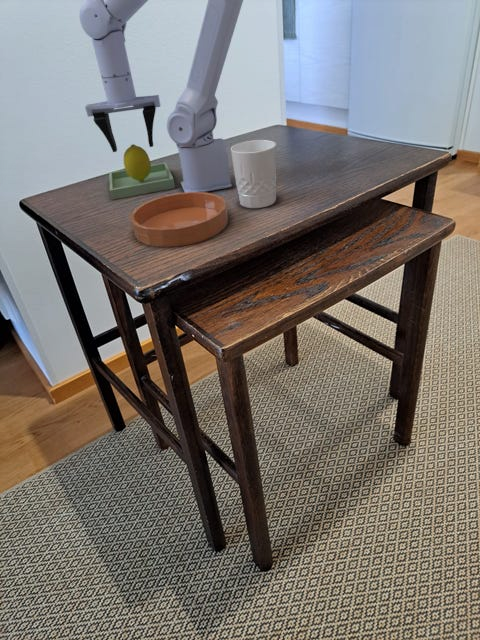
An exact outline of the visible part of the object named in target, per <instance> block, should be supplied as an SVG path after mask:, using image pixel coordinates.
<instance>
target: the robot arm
mask: <svg viewBox="0 0 480 640" xmlns="http://www.w3.org/2000/svg"><path fill="white" fill-rule="evenodd" d="M148 1H149V0H83V3H82V5H81V6H80V9H79V22H80V25H81V27H82V30H83V31H84V32H85V34H86V35H87V36H88V37H89V38H91V43H92V47H93V50H94V55H95V58H96V61H97V66H98V70H99V74H100V78H101V81H102V86H103V89H104V90H103V91H104V93H105V99H106V101H100V102H95V103H88V104H86V105H84V108H85V112H86V115H87V118H88V117H93V122H94V124H95V125H96V127H98V129H99V130H100V131H101V133H102V134H103V135H104V138H106V141H107V143H108V144H109V147H110V148H111V150H112V153H116V152H117V151H118V146H117V142H116V140H115V136H114V133H113V129H112V124H111V120H110V114H113V113H120V112H128V111H129V112H130V111H136V110H142V116H143V120H144V124H145V128H146V133H147V140H148V145H149V148H152V147H154V139H153V137H154V136H153V135H154V134H153V131H154V120H155V115H156V110H157V108H161V100H160V95H159V94H155V95H144V96H143V95H142V96H137V94H136V90H135V85H134V81H133V75H132V71H131V67H130V63H129V56H128V53H127V47H126V44H125V43H126V42H127V41H126V38H125V36H126V35H125V32H126V28H127V22H128V21H130V20H131V19H132V17H134V15H136V13H137V12H138V11H140V9H141V8H142V7H144V6H145V4H146V3H148ZM243 3H244V0H207V4H206V8H205V12H204V16H203V20H202V24H201V28H200V31H199V35H198V38H197V43H196V47H195V51H194V55H193V59H192V63H191V67H190V70H189V74H188V79H187V82H186V87H185V89H184V90H183V91H182V93H181V94H180V96H179V97H178V99H177V100H176V104H175V108H174V110H173V111H172V112H171V113H170V114H169V115H168V117H167V121H166V130H167V133H168V136H169V137H170V139H171V140H172V142H173V143H175V145H176V148H177V151H178V157H179V162H180V168H181V173H182V174H181V175H182V180H183V181H180V185H181V187H182V190H183V193H184V192H206V193H209V192H212V191H218V190H223V189H229V188H232V187H233V185H232V182H231V181H232V180H231V174H230V165H229V157H228V156H229V155H228V151H227V146H226V143H225V140H224V138H221V137H220V138H214V132H213V131H214V130H215V129H216V126H217V120H218V118H217V107H218V104H219V101H218V98H217V96H216V92H217V89H218V86H219V82H220V79H221V75H222V73H223V69H224V65H225V62H226V59H227V57H228V56H227V55H228V52H229V49H230V47H231V43H232V38H233V36H234V32H235V29H236V26H237V22H238V19H239V16H240V13H241V10H242V6H243Z"/></svg>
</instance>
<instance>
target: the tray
mask: <svg viewBox="0 0 480 640" xmlns="http://www.w3.org/2000/svg"><path fill="white" fill-rule="evenodd" d="M108 177H109V178H108V179H109V192H110V196H111V200H119V199H122V198H123V199H124V198H129V197H135V196H140V195H146V194H150V193H151V194H152V193H156V192H161V191H168V190H172V189H173V190H174V189H176V184H175V180H174V177H173V174H172V172H171V170H170V167H169V165H168V163H167V162H160V163H154V164H151V170H150V173H149V175H148V176H147V177H146V178H145V179H144V181H143V182H139V181H138V180H135V179H133V178H131V177H130V176H129V175H128V173H127V172H126V169H121V170H116V171H110V172H109V173H108Z"/></svg>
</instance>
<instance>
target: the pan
mask: <svg viewBox="0 0 480 640" xmlns="http://www.w3.org/2000/svg"><path fill="white" fill-rule="evenodd" d="M227 205H228V204H227V202H226V200H225V199H224V197H222V196H220V195H218V194H215V193H211V192H184V191H183V192H177V193H171V194H166V195H163V196H159V197H156V198H153V199H150V200H149V201H146V202H144V203H142V204H140V205H139V206H138V207H136V208H135V209H133V212H131V214H130V222H131V226H132V230H133V234H134V236H135V238H136V240H137V241H139V242H140V243H142V244H144V245H147V246H152V247H157V248H158V247H160V248H161V247H162V248H172V247H183V246H188V245H189V246H190V245H192V244H196V243H200V242H203V241H205V240H208V239H210V238H213V237H215V236H216V235H218V234H219V233H221V232H222V231H223V230H224V229H225V228H226V227H227V226H228V222H229V214H228V206H227Z"/></svg>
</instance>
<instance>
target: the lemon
mask: <svg viewBox="0 0 480 640" xmlns="http://www.w3.org/2000/svg"><path fill="white" fill-rule="evenodd" d="M151 165H152V164H151V160H150V157H149V155H148V153H147V151H146V150H145V149H144V148H142V147H141V146H140V145H139V146H138V145H136V144H133V143H132V144H130V146H129V147H128V148H127V149H126V150H125V152H124V153H123V166H124V170H126V172H127V173H128V175H129V176H130V177H131V178H133V179H135V180H138V181H139V182H143V181H144V179H145V178H146V177H147V176H148V175H149V173H150V170H151Z"/></svg>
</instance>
